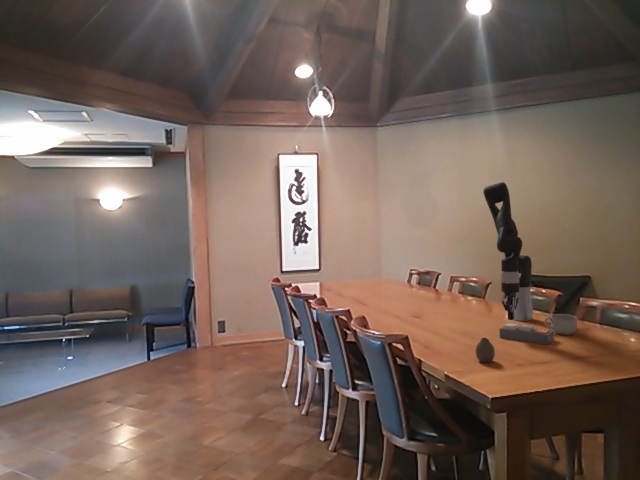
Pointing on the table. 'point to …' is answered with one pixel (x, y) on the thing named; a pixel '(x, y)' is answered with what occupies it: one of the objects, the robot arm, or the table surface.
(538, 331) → the key terracotta
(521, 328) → the key grey
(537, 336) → the keypad
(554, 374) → the table surface
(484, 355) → the vase
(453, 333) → the table surface
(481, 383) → the table surface
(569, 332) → the teacup
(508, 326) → the key ivory
